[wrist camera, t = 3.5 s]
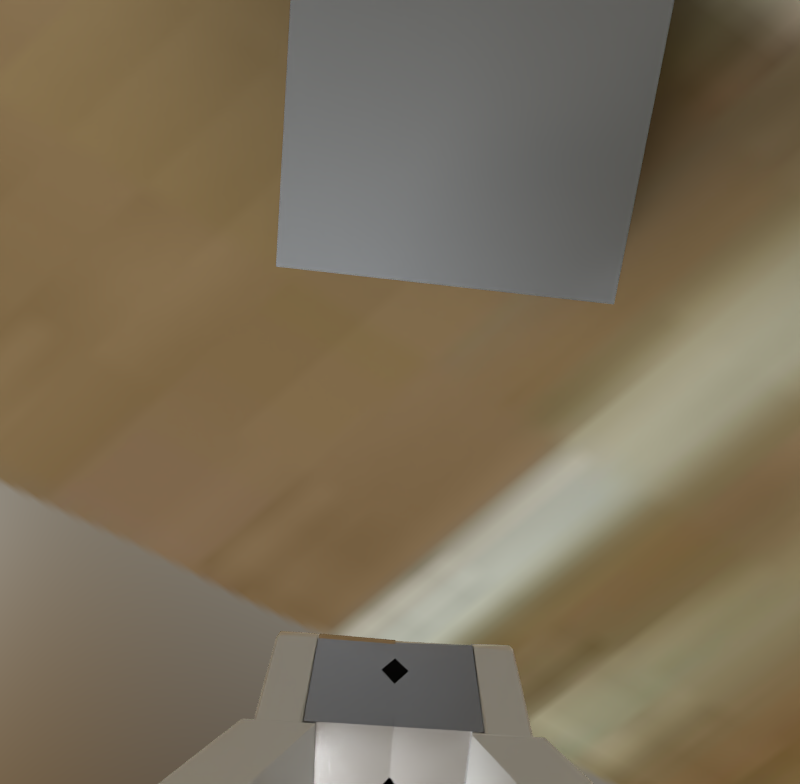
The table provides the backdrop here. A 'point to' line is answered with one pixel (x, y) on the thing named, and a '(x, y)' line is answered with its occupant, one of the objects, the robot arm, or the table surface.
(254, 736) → the robot arm
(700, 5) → the table surface
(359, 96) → the grey rectangular block
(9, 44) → the table surface
